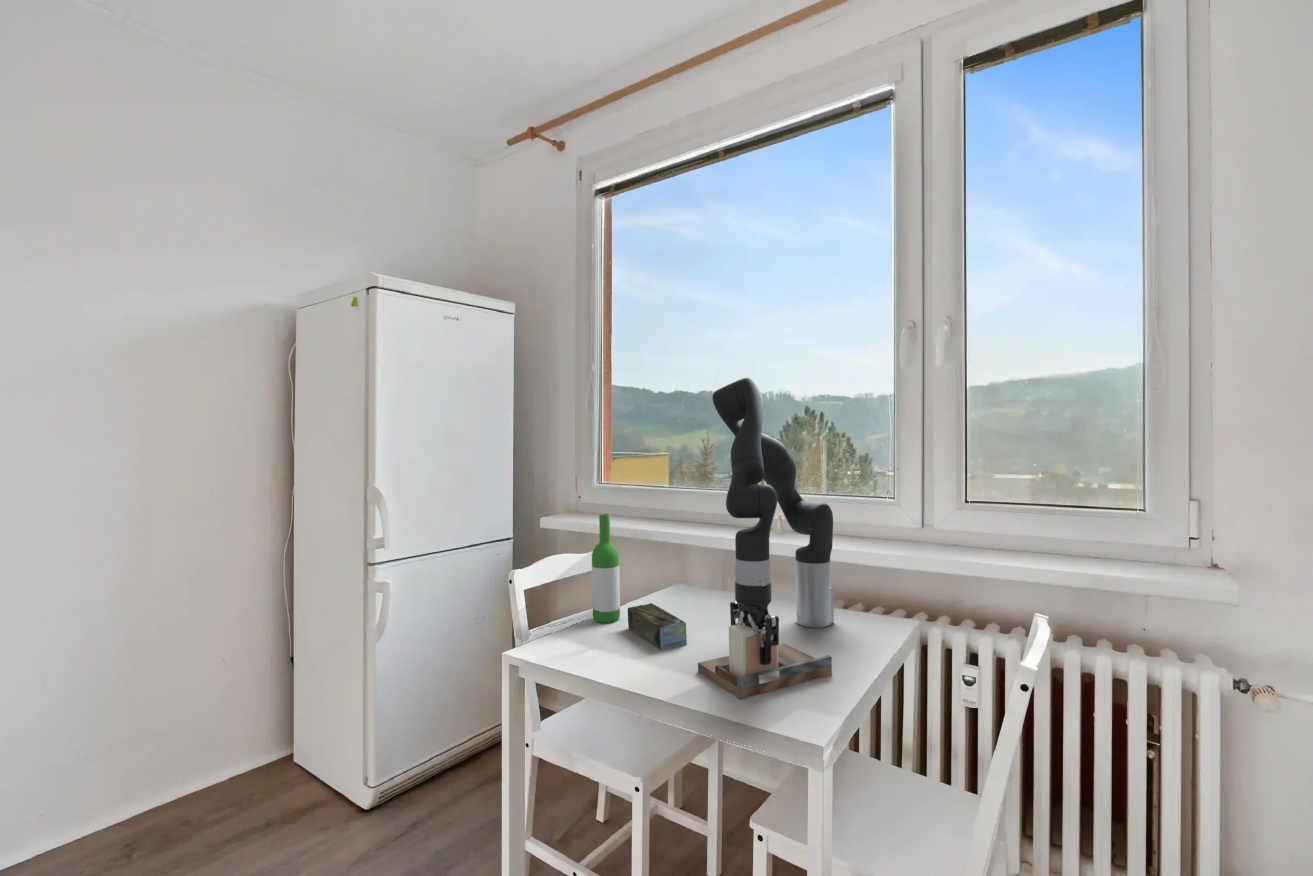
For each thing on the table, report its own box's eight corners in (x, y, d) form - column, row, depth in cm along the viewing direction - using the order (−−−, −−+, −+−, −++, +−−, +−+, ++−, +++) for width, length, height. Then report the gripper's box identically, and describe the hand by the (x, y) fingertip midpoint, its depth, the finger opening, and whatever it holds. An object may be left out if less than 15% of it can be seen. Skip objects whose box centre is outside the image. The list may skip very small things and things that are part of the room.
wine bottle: (606, 614, 178) (604, 512, 178) (625, 618, 173) (623, 513, 173) (587, 620, 172) (585, 515, 172) (606, 625, 167) (604, 517, 167)
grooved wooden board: (783, 651, 145) (783, 635, 145) (832, 675, 130) (832, 657, 130) (698, 671, 134) (697, 653, 134) (741, 700, 119) (740, 679, 119)
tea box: (729, 673, 127) (728, 626, 127) (763, 665, 131) (763, 619, 131) (744, 682, 123) (743, 633, 123) (779, 673, 127) (778, 626, 127)
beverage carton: (659, 651, 147) (659, 624, 147) (626, 629, 164) (626, 605, 164) (687, 646, 151) (687, 619, 151) (652, 625, 168) (652, 601, 168)
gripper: (718, 575, 131) (720, 650, 132) (759, 589, 119) (760, 673, 119) (747, 570, 135) (748, 644, 135) (789, 584, 122) (790, 666, 122)
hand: (754, 658), depth 127 cm, fingers open, 7 cm apart
